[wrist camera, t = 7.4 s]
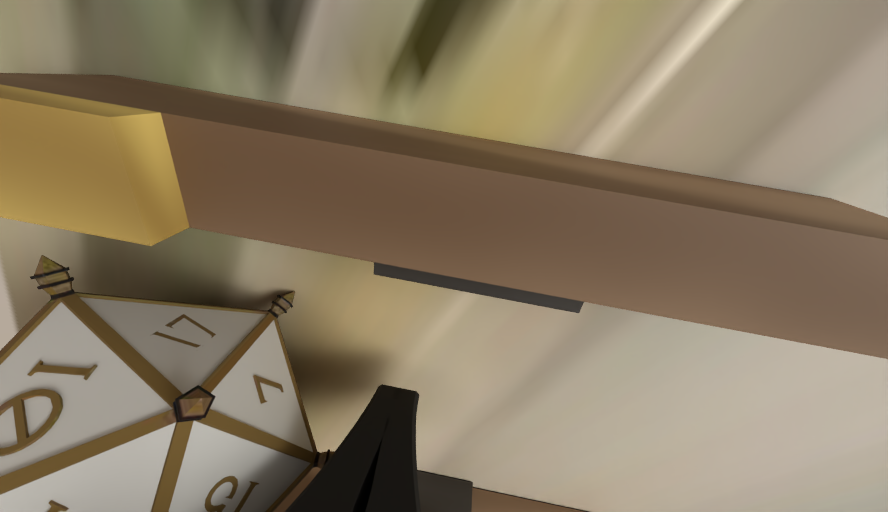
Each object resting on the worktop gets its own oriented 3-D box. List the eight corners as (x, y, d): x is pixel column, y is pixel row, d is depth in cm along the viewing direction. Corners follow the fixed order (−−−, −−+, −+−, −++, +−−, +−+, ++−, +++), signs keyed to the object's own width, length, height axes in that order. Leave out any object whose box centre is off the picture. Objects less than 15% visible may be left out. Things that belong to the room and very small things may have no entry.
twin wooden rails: (580, 535, 15) (605, 662, 12) (228, 459, 16) (159, 559, 12) (830, 198, 7) (1115, 295, 4) (112, 75, 8) (-158, 70, 5)
